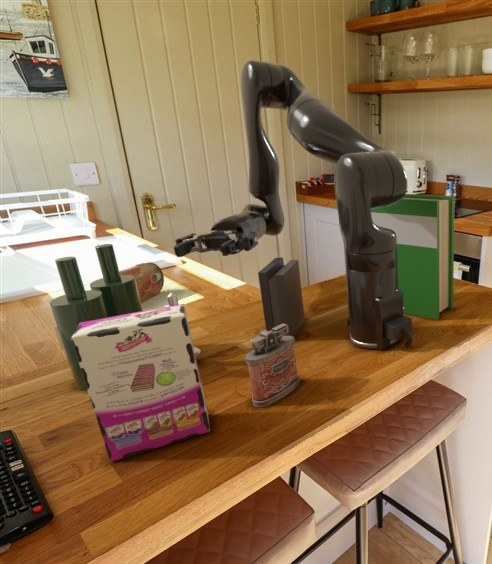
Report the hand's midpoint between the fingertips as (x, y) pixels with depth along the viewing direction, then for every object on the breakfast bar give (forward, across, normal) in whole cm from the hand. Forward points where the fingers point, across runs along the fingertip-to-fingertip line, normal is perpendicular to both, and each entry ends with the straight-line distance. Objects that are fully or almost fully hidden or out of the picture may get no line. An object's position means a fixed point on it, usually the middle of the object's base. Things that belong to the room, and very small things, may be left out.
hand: (200, 251), depth 76 cm
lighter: (+19, +18, +17) cm, 31 cm away
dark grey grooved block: (-3, +13, +17) cm, 22 cm away
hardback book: (-14, +37, +17) cm, 43 cm away
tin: (-21, -28, +17) cm, 39 cm away
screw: (+11, 0, +17) cm, 20 cm away
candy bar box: (+29, +6, +17) cm, 34 cm away
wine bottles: (+11, -12, +17) cm, 24 cm away
